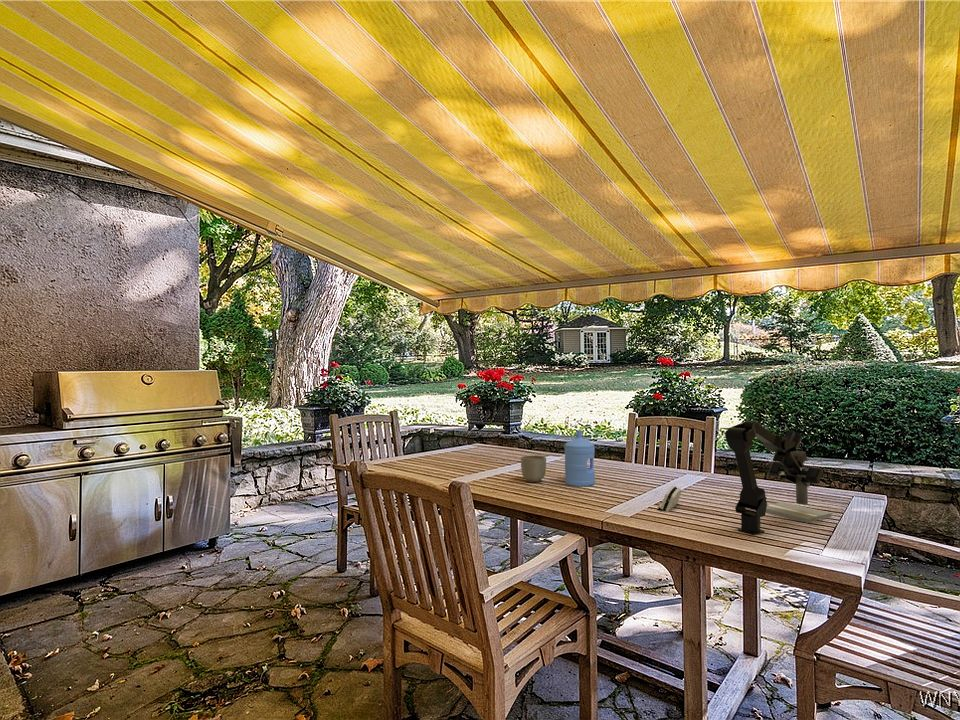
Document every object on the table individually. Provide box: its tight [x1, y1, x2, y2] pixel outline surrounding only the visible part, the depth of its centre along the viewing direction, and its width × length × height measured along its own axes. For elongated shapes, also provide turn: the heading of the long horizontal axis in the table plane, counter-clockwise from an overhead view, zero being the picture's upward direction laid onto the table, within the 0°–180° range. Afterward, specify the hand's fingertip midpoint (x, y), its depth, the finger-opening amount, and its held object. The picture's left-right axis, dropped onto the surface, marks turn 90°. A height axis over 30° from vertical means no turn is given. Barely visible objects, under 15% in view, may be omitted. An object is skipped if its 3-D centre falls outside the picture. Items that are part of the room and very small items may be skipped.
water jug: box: [564, 429, 596, 487], centre depth 274 cm, size 16×16×28 cm
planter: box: [520, 454, 547, 483], centre depth 281 cm, size 14×14×13 cm
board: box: [766, 501, 832, 524], centre depth 213 cm, size 16×20×2 cm
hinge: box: [656, 485, 683, 512], centre depth 226 cm, size 17×5×10 cm, turn 147°
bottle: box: [795, 467, 809, 505], centre depth 209 cm, size 4×4×14 cm
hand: (803, 484), depth 210 cm, fingers closed on bottle, 4 cm apart
